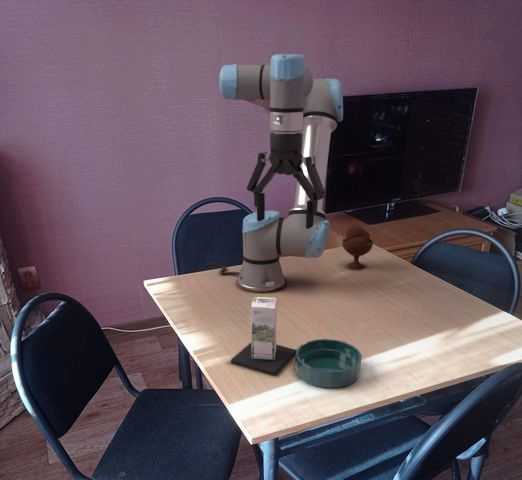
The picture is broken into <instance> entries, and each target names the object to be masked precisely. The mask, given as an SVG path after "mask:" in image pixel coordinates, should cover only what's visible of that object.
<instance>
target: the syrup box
mask: <svg viewBox="0 0 522 480" xmlns="http://www.w3.org/2000/svg"><path fill="white" fill-rule="evenodd" d="M277 312H278V299H277V297H259V296H254V297H253V298H252V301H251V305H250V323H251V326H250V328H251V330H250V332H251V333H250V334H251V342H252V359H257V360H275V353H276V345H277V318H278V317H277V314H278V313H277Z"/></svg>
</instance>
